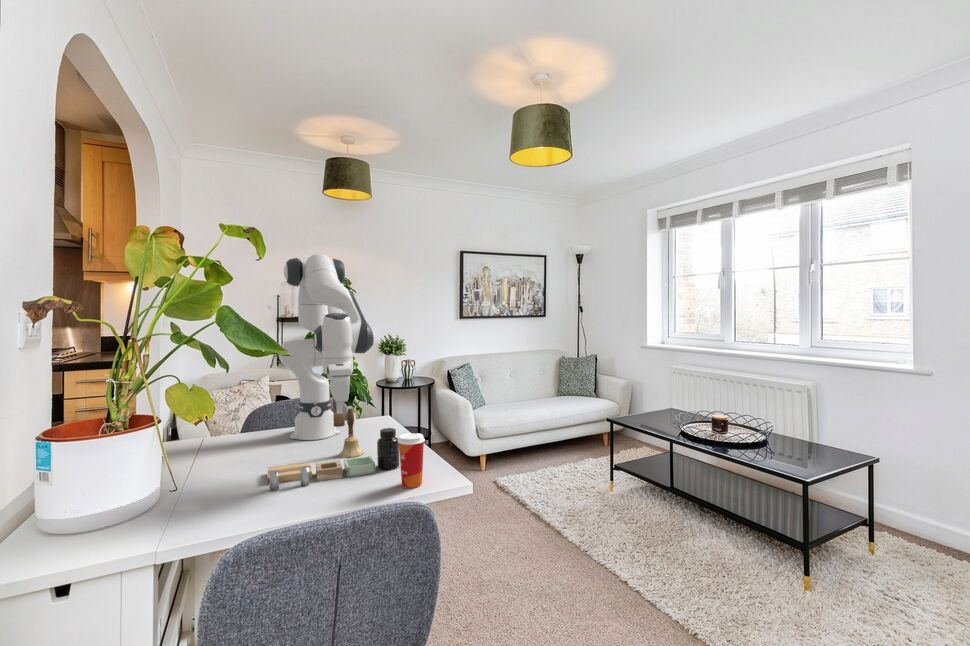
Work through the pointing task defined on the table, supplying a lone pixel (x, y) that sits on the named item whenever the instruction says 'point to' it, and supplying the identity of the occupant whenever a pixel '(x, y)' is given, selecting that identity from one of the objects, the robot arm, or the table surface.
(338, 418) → the dowel
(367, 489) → the table surface
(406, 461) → the paper cup
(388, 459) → the supplement bottle
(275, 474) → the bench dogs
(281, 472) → the curved tan panel
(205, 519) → the table surface
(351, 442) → the hand bell
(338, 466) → the socket block
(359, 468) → the tray
